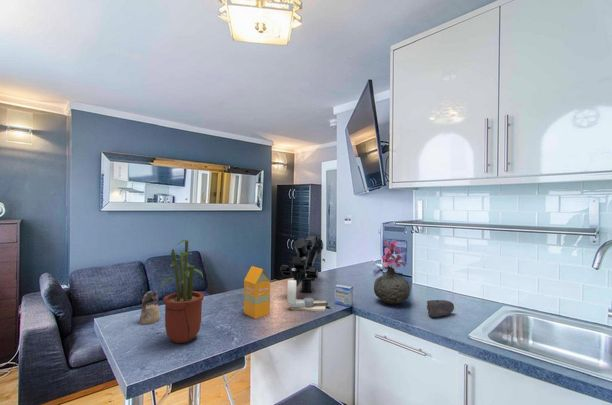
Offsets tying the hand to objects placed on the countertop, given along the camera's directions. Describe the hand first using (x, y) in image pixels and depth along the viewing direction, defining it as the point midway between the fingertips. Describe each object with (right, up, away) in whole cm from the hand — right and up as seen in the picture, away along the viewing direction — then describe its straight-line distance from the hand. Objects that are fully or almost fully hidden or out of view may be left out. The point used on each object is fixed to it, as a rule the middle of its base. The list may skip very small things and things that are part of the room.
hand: (295, 286), depth 140 cm
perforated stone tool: (+64, -9, -13) cm, 66 cm away
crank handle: (+6, -7, -7) cm, 11 cm away
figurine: (-58, -7, -24) cm, 63 cm away
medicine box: (+23, -8, 0) cm, 25 cm away
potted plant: (-40, -7, -38) cm, 56 cm away
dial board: (+8, -8, -4) cm, 12 cm away
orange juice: (-17, -8, -14) cm, 23 cm away
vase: (+47, -9, +2) cm, 48 cm away
